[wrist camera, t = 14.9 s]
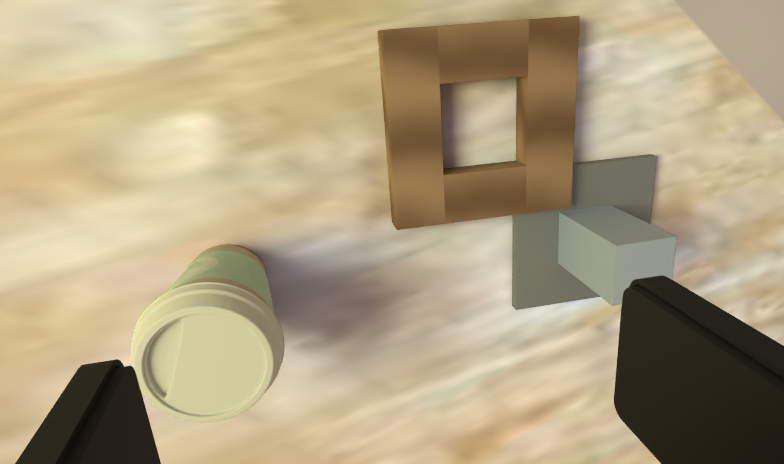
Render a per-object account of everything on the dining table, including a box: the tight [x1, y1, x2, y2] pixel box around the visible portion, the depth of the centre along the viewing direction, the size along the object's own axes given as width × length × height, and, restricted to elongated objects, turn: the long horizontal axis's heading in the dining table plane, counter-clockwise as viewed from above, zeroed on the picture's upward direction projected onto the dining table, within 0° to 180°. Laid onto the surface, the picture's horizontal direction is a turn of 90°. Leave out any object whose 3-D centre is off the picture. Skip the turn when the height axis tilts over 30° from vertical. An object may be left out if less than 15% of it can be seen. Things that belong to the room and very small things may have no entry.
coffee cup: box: [131, 245, 284, 423], centre depth 35 cm, size 8×9×12 cm
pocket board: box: [378, 16, 579, 230], centre depth 39 cm, size 14×14×2 cm
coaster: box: [512, 154, 657, 310], centre depth 44 cm, size 12×12×1 cm
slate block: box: [558, 205, 677, 306], centre depth 40 cm, size 4×4×8 cm
